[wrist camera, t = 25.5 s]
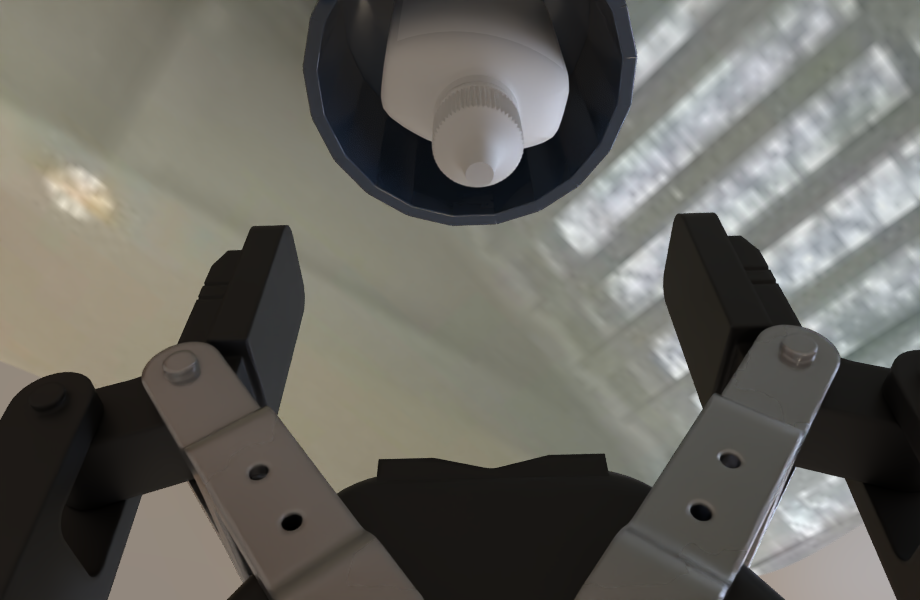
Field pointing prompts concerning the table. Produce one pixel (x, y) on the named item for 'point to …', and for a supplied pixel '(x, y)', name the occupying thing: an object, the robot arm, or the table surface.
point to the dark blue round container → (411, 157)
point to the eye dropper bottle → (475, 82)
